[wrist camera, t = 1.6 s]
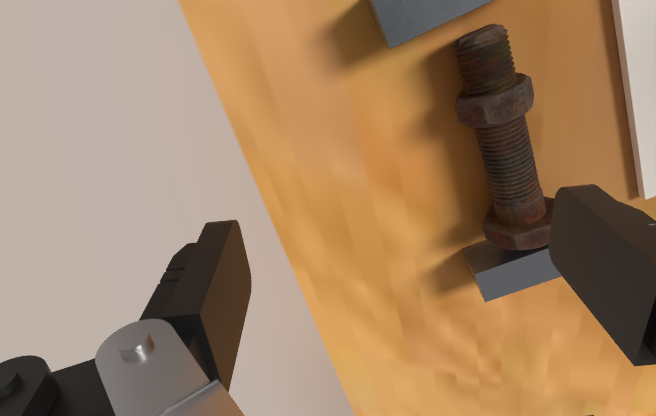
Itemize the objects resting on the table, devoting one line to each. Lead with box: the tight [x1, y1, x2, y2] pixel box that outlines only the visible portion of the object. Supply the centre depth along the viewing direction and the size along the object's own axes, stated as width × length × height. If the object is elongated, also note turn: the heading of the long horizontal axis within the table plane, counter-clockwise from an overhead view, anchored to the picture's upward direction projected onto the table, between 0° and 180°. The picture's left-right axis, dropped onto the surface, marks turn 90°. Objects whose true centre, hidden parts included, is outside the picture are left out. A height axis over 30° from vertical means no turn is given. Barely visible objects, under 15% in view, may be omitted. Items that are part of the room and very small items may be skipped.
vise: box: [368, 0, 562, 302], centre depth 29 cm, size 10×30×4 cm, turn 25°
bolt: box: [453, 24, 555, 250], centre depth 30 cm, size 6×5×15 cm
